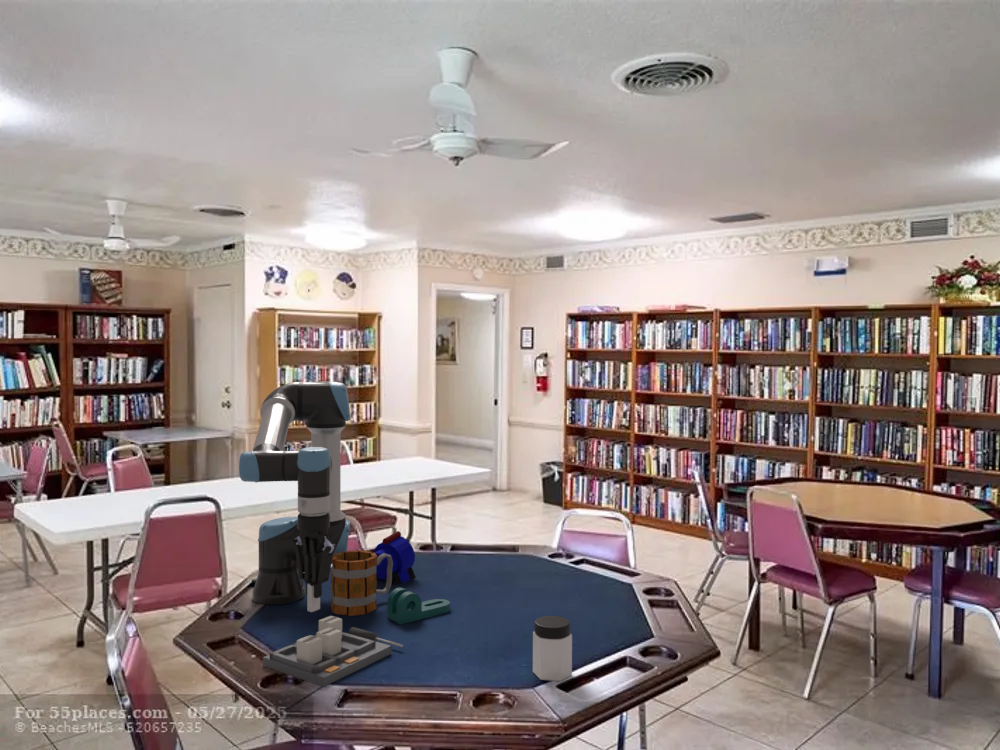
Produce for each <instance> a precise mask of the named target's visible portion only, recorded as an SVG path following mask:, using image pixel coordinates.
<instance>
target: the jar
mask: <svg viewBox="0 0 1000 750" xmlns="http://www.w3.org/2000/svg"><path fill="white" fill-rule="evenodd" d="M533 628H534V631H533V632H532V673H533V674H534V675H535V676H536V677H537V678H538V679H539V680H540V681H552V682H561V681H564V680H565V679H567V678H569V677H570V676H572V673H573V672H572V671H573V662H572V661H573V634H572V633H571V621H570V620H569V619H567V618H565V617H562V616H557V615H545V616H540V617H538V618H536V619H535V620H534V626H533Z"/></svg>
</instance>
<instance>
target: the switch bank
mask: <svg viewBox="0 0 1000 750" xmlns="http://www.w3.org/2000/svg"><path fill="white" fill-rule="evenodd" d="M313 636H316V637H317V634H315V635H313ZM390 655H392V645H391V644H388V643H384V642H383V643H382V642H381V641H377V642H376V641H373V640H369V639H366V638H362V637H359V636H355V635H351V634H349V632H343V631H342V639H341V652H339V653H337V654H335V655H333V656H332V655H329V654H326V653H323V652H322V660H321V661H319V662H317V663H315V664H310V663H307V662H304V661H301V660H298V659H297V642H294V643H293V644H292V643H291V644H290V645H287V646H285V647H281V648H279V649H277V650H274V651H272V652H270V653H269V654H268V655H267V654H266V655H265V656H262V666H263V667H265V668H268V669H271V670H275V671H277V672H280V673H282V674H286V675H289V676H291V677H294V678H297V679H299V680H303V681H306V682H308V683H311V684H315V685H318V686H319V687H320V686H321V687H323V688H324V687H326V686H328V685H330V684H332V683H335V682H336V681H339V680H340V679H343V678H344V677H346V676H349V675H352V673H355V672H357V671H359V670H361V669H363V668H365V667H367V666H369V665H372V664H374V663H376V662H377V661H379V660H382V659H384V658H386V657H388V656H390Z"/></svg>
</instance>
